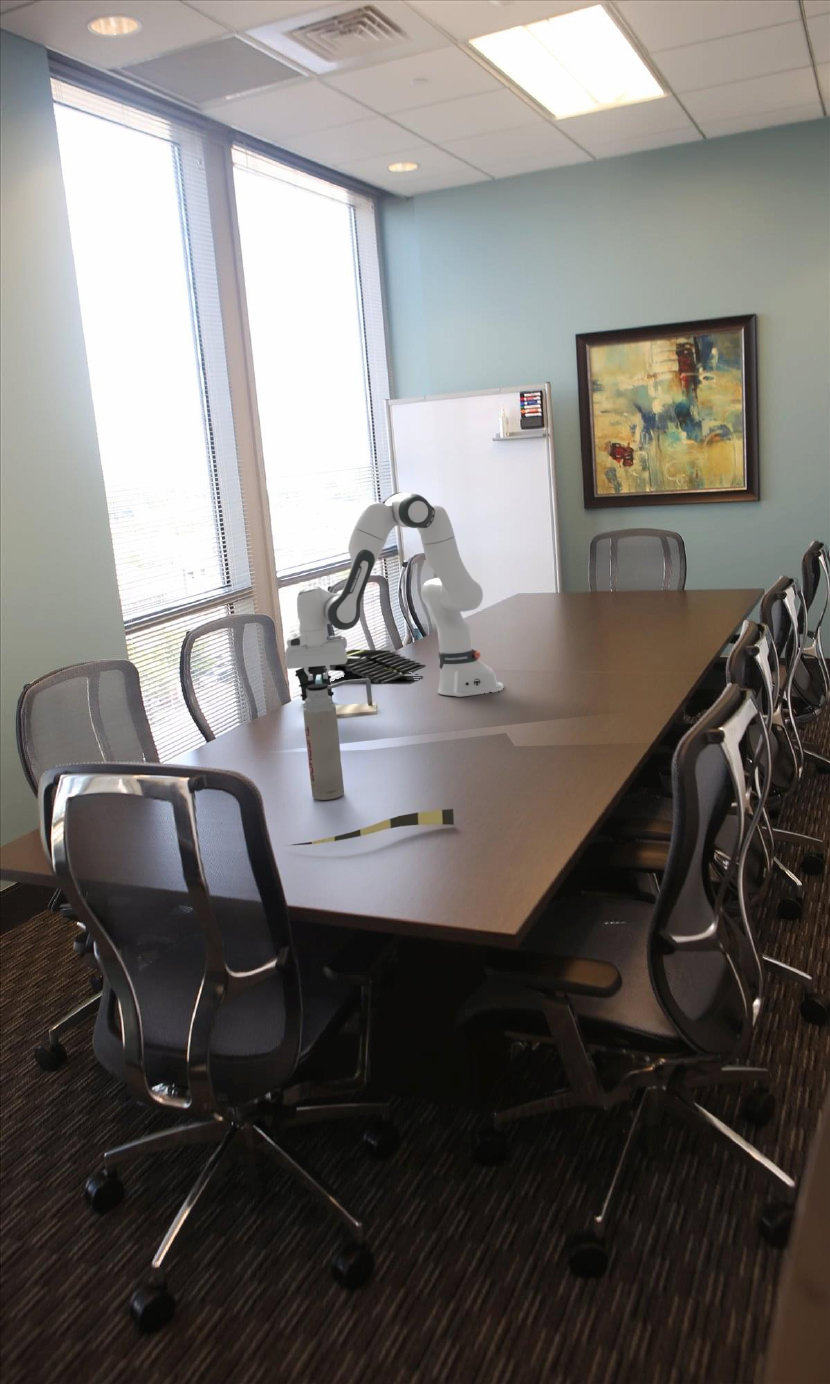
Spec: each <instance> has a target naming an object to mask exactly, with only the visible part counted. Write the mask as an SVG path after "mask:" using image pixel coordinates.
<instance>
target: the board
mask: <svg viewBox="0 0 830 1384" xmlns="http://www.w3.org/2000/svg"><path fill="white" fill-rule="evenodd" d="M372 703H373V705H370V706H369V705H368V702H361V703H352V704H341V705H335V706H336V715H337V719H340V718H348V717H358V716H367V715H377V714H378V713H377V711H378V710H377V702H376V701H375V702H374V701H372Z"/></svg>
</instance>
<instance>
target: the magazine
mask: <svg viewBox="0 0 830 1384" xmlns="http://www.w3.org/2000/svg"><path fill="white" fill-rule="evenodd" d="M308 668H309V669H308V672H309V673H310V674H313V680H310V681H309V680H308V675H307V674H306V673H305V671H304V667H303V668H297V670H295V672H294V673H295V674H294V676H295V677H297V679H298V681H299V685H298V687H299V688H300V690H301V691H300V692H301V694H300V697H301V701H303V702H305V699H307V694H306V689H307V687H308V686H309V685H313V684H316V683H315V680H316V676H317V675H321V677H322V684H327V686H328V685H332V684H331V679H332V676H331V675H329V674H330V673H328V679H323V673H326V671H327V669H326V666H315V667H308ZM332 689H333V688H332ZM332 689H327V690H328V695H329V696H331V697H332V698H333V696H335V695H334V691H333V690H332Z"/></svg>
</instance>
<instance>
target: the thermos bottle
mask: <svg viewBox="0 0 830 1384" xmlns="http://www.w3.org/2000/svg"><path fill="white" fill-rule="evenodd" d="M307 688H308V698H307V699H305V701H304V705H305V707H303V709H302V711H303V722H304V728H305V729H304V731H305V740H306V741H305V742H306V750H307V755H308V757H307V758H308V768H309V769H308V770H309V779H310V787H311V796H312V798H313V799H316V800H334V799H337V798H340V797H342V796H343V795H345V786H344V777H343V776H344V775H343V767H342V761H341V760H342V759H341V747H340V737H339V727H338V718H337V715H336V706H337V705H335V704H333V703H334V701H333V696H332V697H331V696H329V695H328V690H327V688H328V686H327V684H313V685H309V686H308V687H307Z"/></svg>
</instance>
